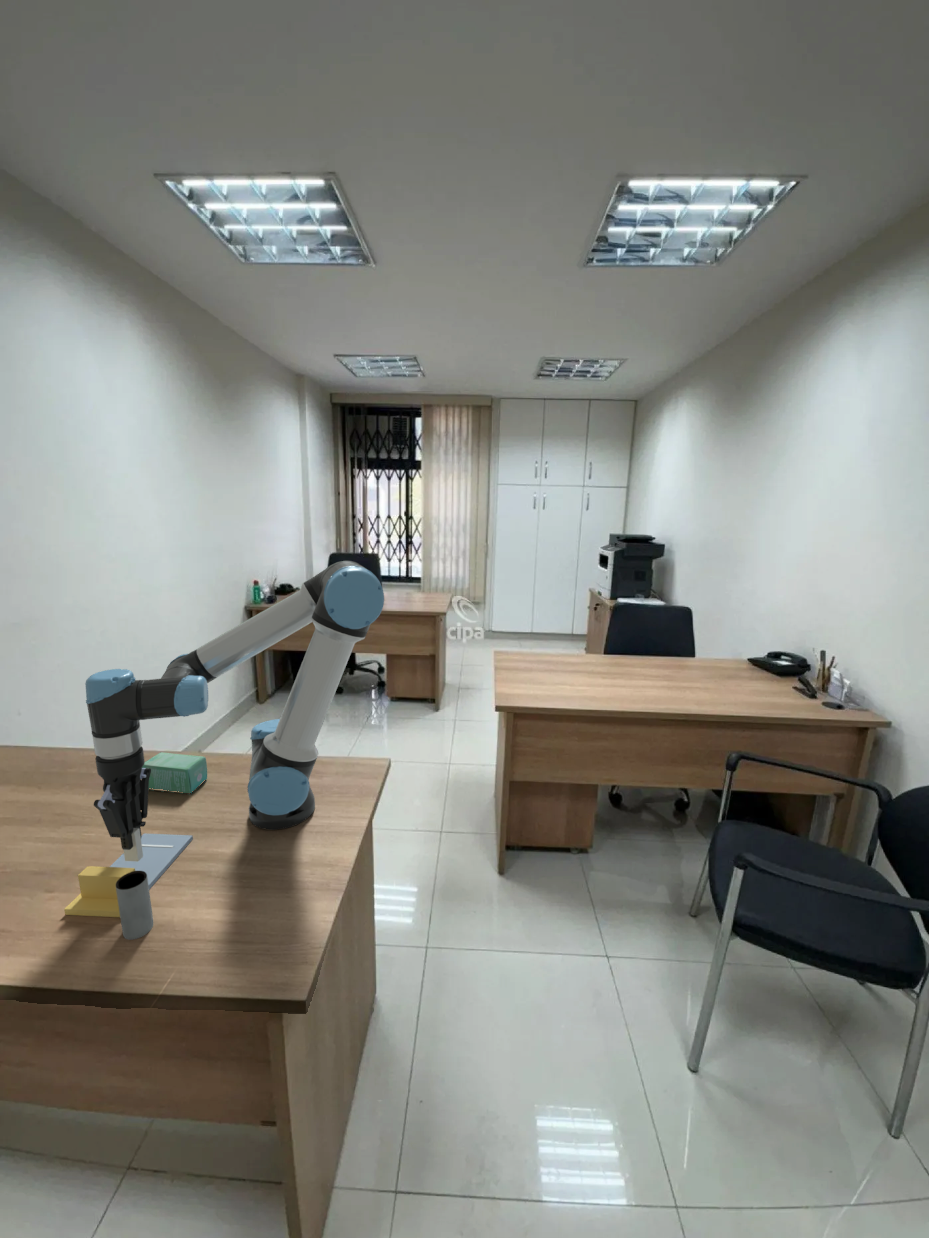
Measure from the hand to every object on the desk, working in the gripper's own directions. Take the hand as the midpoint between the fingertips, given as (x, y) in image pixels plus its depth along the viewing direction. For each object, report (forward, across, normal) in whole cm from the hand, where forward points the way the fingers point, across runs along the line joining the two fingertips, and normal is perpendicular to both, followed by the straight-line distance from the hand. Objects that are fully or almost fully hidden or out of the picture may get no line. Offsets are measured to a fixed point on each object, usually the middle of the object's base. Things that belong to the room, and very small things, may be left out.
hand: (134, 858), depth 101 cm
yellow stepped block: (+3, +8, 0) cm, 9 cm away
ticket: (+3, -3, 0) cm, 4 cm away
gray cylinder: (+4, +13, +10) cm, 17 cm away
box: (+4, -32, -11) cm, 34 cm away
